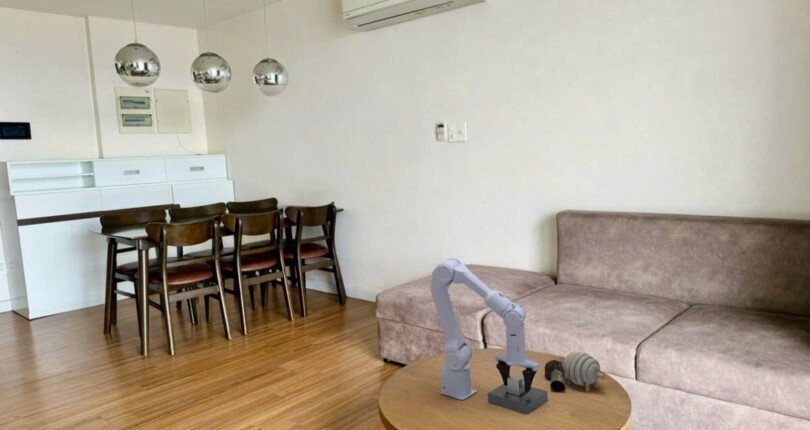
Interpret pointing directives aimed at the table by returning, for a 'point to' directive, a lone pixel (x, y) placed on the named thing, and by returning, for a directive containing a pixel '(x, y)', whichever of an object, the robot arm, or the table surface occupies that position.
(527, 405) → the grey slab with hole
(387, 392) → the table surface
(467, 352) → the robot arm
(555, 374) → the tube with rough end
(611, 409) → the table surface
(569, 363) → the toy sheep
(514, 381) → the grey wooden block
